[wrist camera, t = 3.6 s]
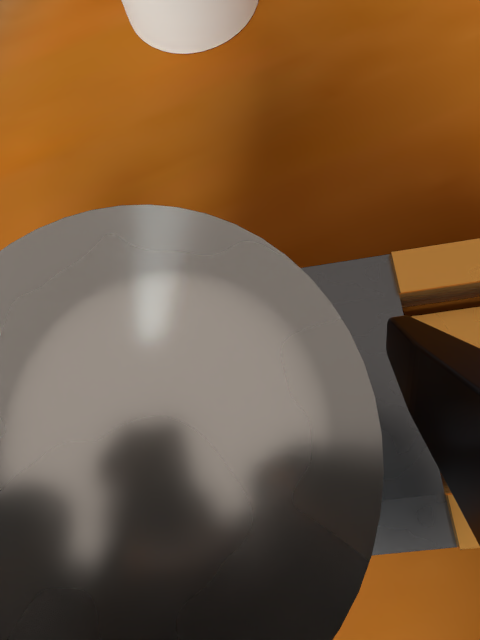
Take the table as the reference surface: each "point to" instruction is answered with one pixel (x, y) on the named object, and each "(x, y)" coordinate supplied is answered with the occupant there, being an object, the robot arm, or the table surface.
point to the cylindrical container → (188, 22)
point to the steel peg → (178, 436)
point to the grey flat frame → (395, 420)
